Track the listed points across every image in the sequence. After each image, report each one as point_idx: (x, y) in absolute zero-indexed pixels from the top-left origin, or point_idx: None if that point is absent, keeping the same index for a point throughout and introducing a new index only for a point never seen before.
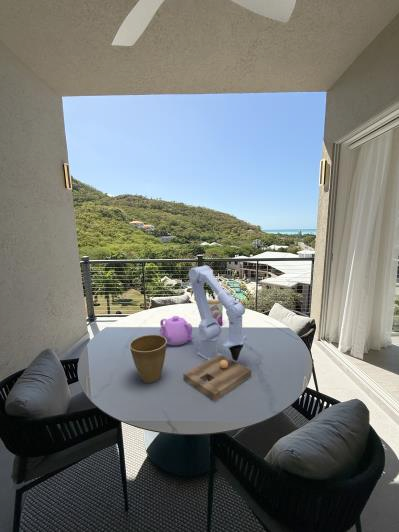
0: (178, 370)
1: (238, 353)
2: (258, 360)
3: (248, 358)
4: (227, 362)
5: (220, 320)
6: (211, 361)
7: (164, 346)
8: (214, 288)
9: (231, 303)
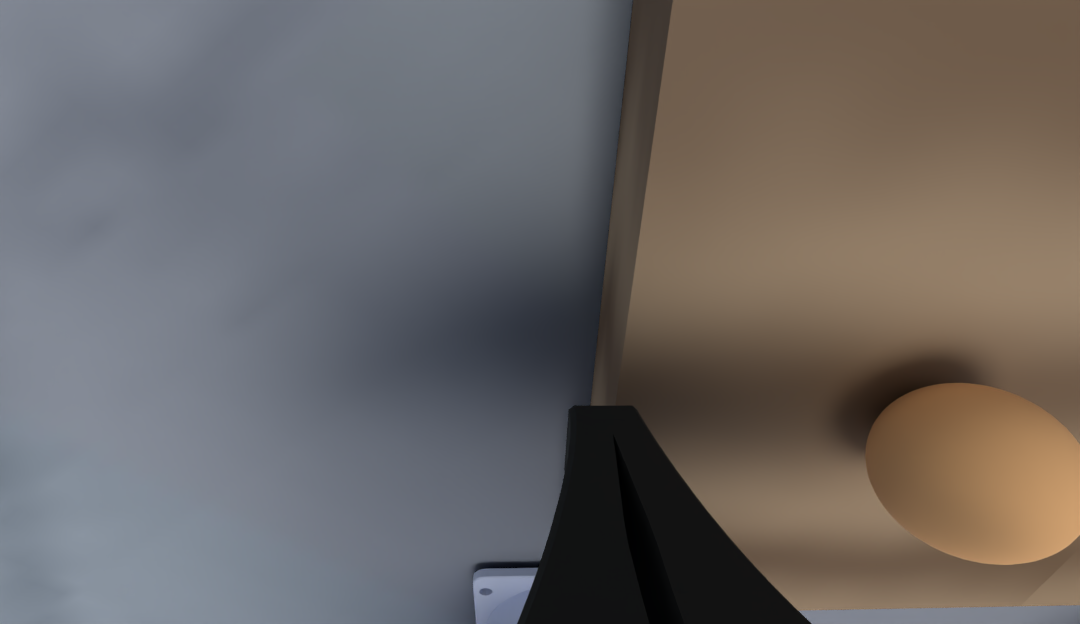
0: (973, 615)
1: (627, 542)
2: (53, 194)
3: (201, 347)
4: (987, 464)
5: None
6: (815, 581)
7: None
8: None
9: None
